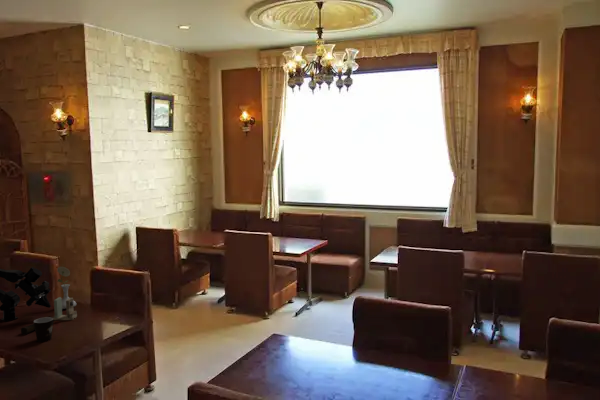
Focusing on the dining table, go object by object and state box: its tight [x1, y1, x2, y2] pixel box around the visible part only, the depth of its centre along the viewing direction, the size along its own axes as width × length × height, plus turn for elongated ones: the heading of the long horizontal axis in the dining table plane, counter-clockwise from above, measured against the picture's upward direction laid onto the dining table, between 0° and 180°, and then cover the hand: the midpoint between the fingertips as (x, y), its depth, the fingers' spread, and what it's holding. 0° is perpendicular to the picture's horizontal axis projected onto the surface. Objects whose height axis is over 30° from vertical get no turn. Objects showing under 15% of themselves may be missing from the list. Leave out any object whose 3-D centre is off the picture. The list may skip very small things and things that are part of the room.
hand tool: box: [20, 316, 53, 336], centre depth 264 cm, size 19×4×5 cm, turn 159°
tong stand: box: [51, 297, 78, 321], centre depth 281 cm, size 12×6×11 cm, turn 93°
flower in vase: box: [57, 266, 77, 310], centre depth 301 cm, size 13×11×25 cm
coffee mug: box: [33, 316, 55, 343], centre depth 249 cm, size 12×9×10 cm
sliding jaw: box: [53, 296, 63, 318], centre depth 280 cm, size 2×6×10 cm, turn 3°
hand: (50, 307), depth 280 cm, fingers closed
